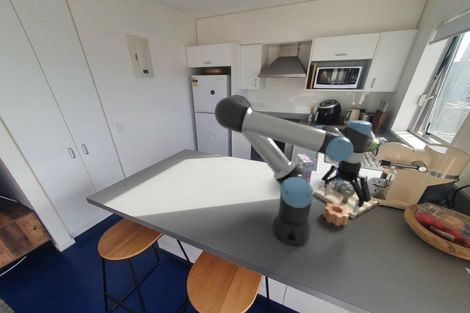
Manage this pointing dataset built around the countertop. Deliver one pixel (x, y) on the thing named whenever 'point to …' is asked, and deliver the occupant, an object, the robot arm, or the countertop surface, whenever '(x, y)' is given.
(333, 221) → the gear
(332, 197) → the gear board
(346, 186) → the gear
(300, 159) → the candy box
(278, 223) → the robot arm
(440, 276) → the countertop surface
